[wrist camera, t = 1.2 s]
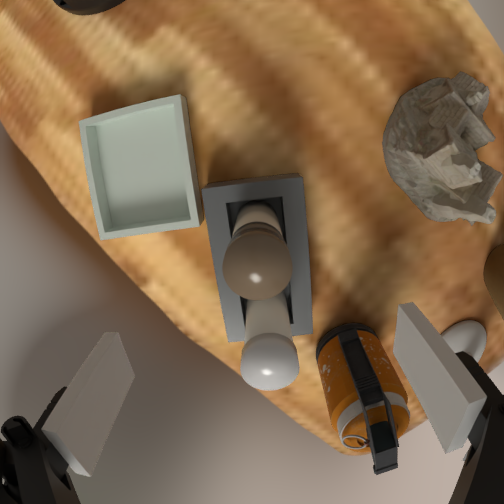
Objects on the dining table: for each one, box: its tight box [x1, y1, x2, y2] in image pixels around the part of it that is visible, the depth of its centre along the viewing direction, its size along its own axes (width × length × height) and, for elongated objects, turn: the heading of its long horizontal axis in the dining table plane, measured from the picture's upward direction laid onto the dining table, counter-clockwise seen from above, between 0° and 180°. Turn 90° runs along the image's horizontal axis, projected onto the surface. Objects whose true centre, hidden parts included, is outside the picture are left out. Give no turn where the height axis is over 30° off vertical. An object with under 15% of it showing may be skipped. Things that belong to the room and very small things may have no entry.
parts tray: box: [79, 94, 204, 240], centre depth 33 cm, size 14×12×3 cm
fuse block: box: [201, 173, 313, 342], centre depth 36 cm, size 18×10×4 cm, turn 7°
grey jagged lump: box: [382, 71, 503, 226], centre depth 26 cm, size 16×16×15 cm
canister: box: [316, 323, 410, 475], centre depth 32 cm, size 9×11×20 cm
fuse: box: [241, 290, 299, 390], centre depth 32 cm, size 5×5×14 cm
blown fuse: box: [222, 200, 293, 300], centre depth 29 cm, size 5×5×14 cm
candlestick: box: [441, 320, 487, 362], centre depth 29 cm, size 13×13×30 cm
